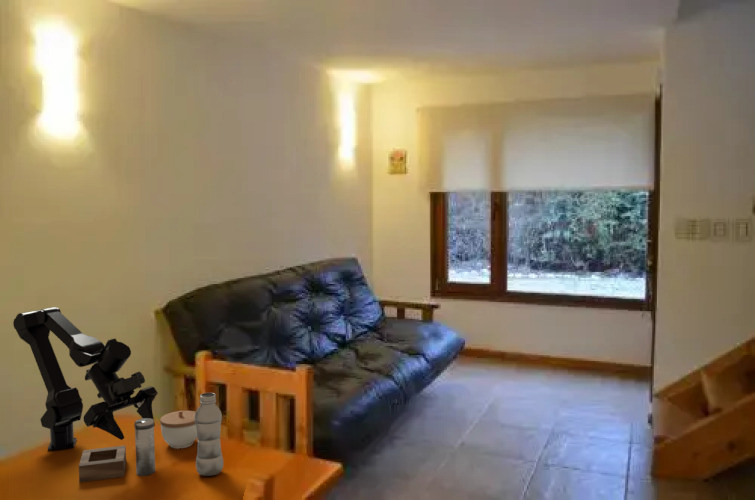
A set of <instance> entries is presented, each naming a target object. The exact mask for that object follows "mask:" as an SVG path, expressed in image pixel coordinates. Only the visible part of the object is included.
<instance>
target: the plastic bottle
mask: <svg viewBox="0 0 755 500" xmlns="http://www.w3.org/2000/svg"><path fill="white" fill-rule="evenodd" d="M216 396H217V395H216V393H214V392H203V393H201V394H200V395H199V404H200V405H199V406H198V408H196V409H197V410H196V411H195V412H196V413H195V416H194V418H195V425H196V430H197V439H196V440H197V448H196V449H197V453H196V458H195V469H196V472H197V474H198V475H200V476H203V477H211V476H215V475H219V474H220V473H221V472H222V470H223V468H224V457H223V453H222V447H221V446H222V445H221V427H222V417H223V416H222V411H221V409H220V408H219V407H218V405H217V404H216V402H217V399H216Z"/></svg>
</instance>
